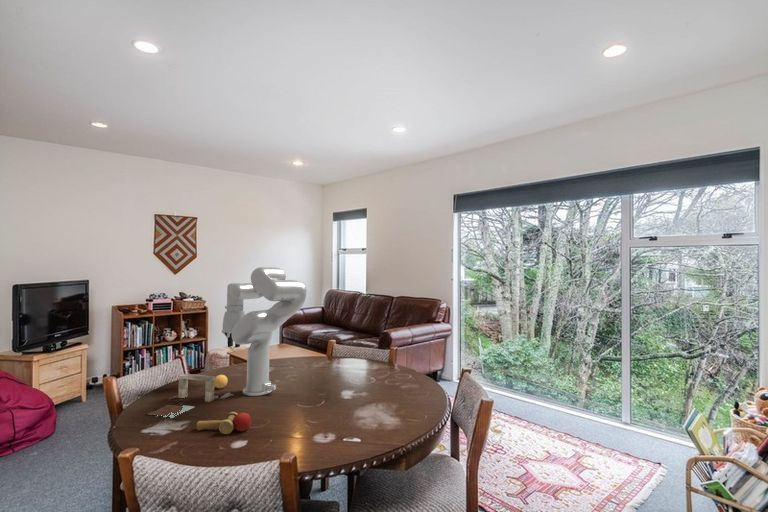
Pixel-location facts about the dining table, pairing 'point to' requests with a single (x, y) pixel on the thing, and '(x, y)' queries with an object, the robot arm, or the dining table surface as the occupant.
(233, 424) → the kendama
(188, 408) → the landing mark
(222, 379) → the ball
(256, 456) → the dining table surface
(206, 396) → the bridge
